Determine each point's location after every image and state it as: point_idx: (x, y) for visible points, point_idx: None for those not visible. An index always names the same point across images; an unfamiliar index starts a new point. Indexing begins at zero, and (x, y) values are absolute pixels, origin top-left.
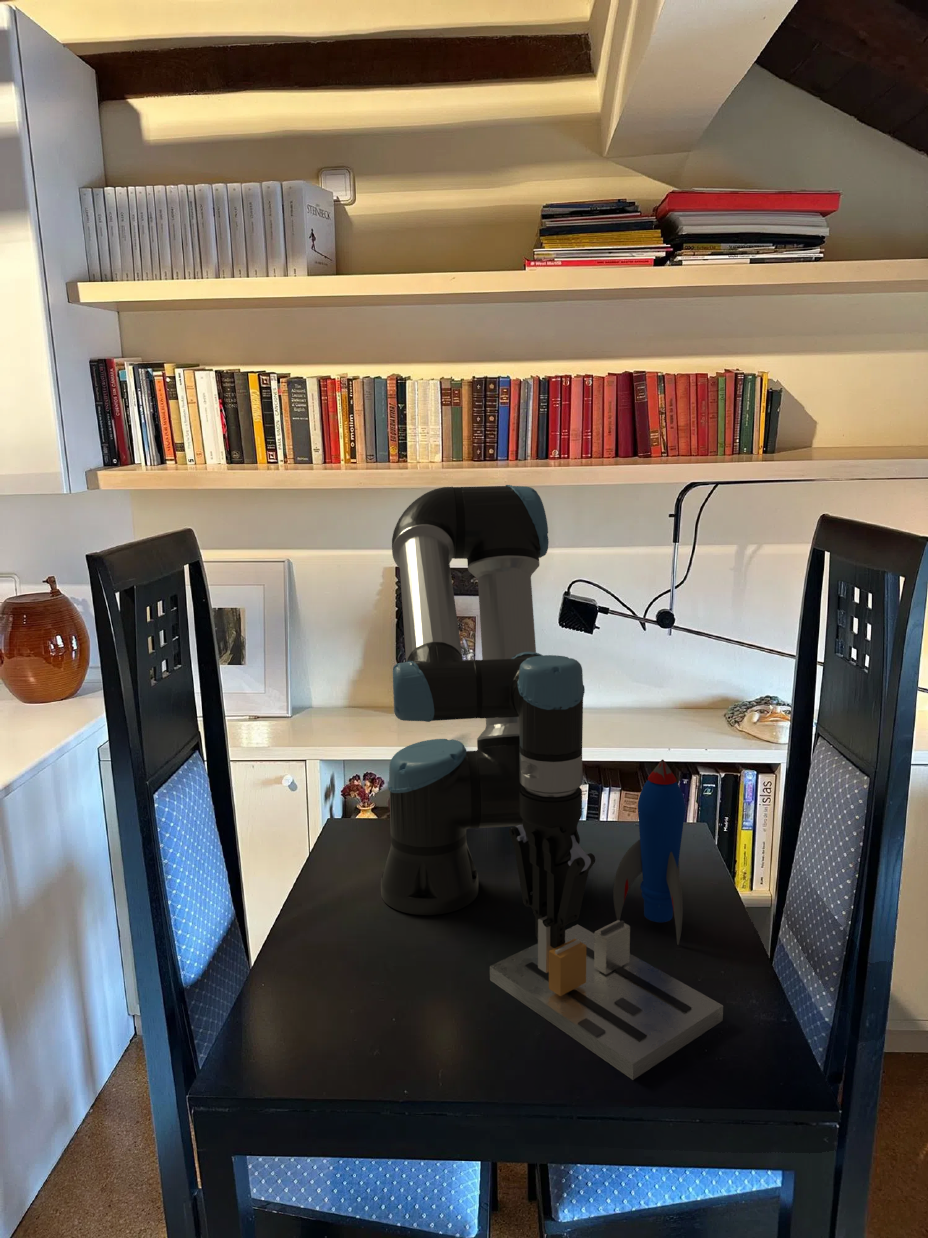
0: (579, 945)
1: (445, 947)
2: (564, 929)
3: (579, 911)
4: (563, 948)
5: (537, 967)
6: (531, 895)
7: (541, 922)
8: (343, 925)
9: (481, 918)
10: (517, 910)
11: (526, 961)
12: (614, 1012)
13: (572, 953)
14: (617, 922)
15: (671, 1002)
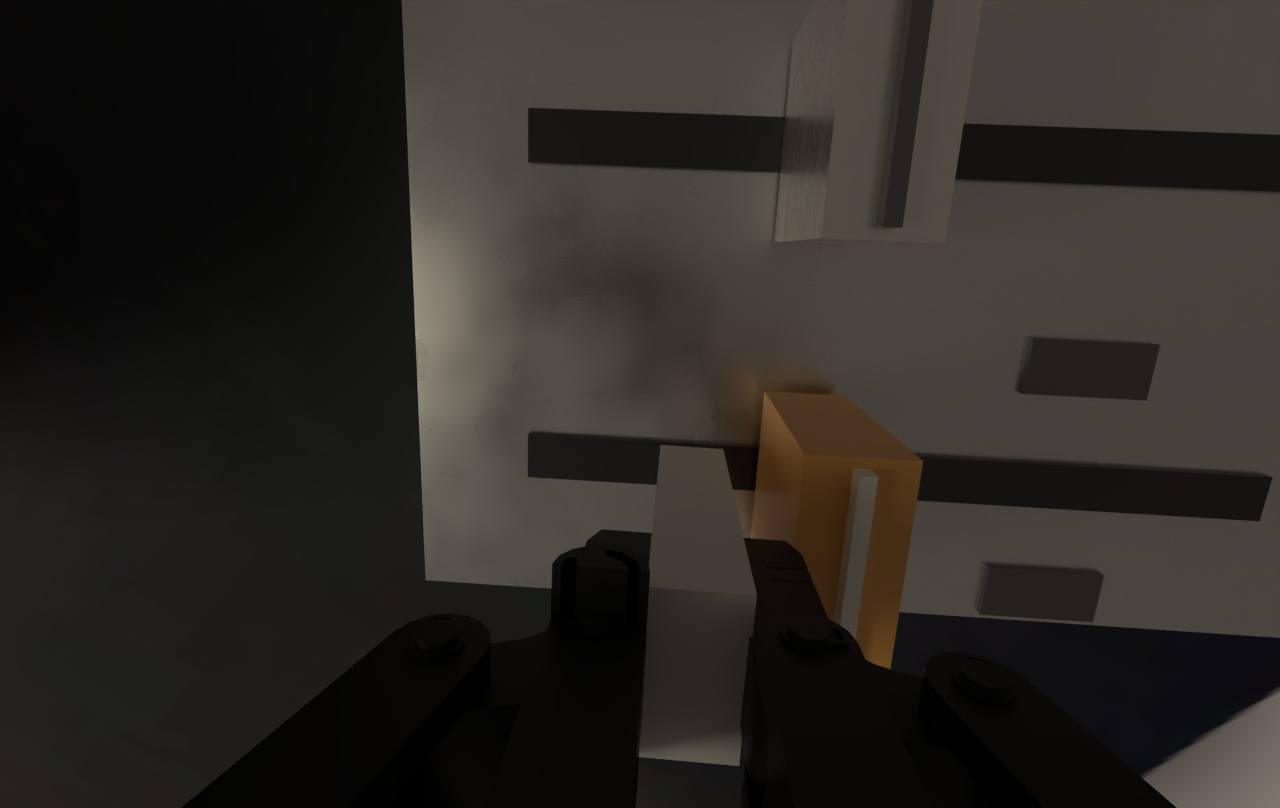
0: (885, 494)
1: (149, 518)
2: (821, 613)
3: (1103, 755)
4: (855, 630)
5: (579, 450)
6: (426, 798)
7: (679, 754)
8: None
9: (14, 236)
10: (33, 26)
11: (500, 439)
12: (1056, 442)
13: (902, 586)
14: None
15: (1262, 183)
